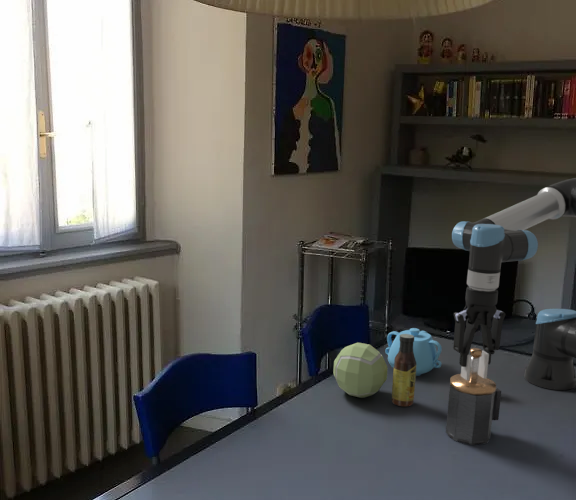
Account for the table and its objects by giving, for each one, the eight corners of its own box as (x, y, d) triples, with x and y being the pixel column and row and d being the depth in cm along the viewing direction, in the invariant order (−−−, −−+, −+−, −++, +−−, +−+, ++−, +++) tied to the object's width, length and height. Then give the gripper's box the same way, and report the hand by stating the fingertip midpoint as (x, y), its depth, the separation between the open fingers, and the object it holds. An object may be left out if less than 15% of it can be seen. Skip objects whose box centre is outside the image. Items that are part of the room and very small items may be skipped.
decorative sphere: (343, 380, 195) (346, 333, 192) (390, 390, 188) (394, 342, 186) (325, 398, 181) (327, 348, 178) (375, 409, 175) (379, 358, 172)
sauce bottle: (413, 409, 176) (418, 341, 173) (390, 406, 178) (395, 338, 174) (413, 399, 183) (418, 333, 179) (391, 397, 184) (396, 331, 180)
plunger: (475, 416, 169) (482, 341, 165) (500, 436, 159) (509, 356, 155) (437, 420, 166) (444, 343, 162) (461, 441, 156) (469, 359, 152)
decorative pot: (382, 359, 214) (384, 320, 211) (429, 360, 215) (432, 321, 212) (391, 378, 198) (394, 336, 195) (442, 379, 199) (446, 337, 196)
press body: (483, 421, 170) (487, 376, 168) (507, 440, 160) (513, 392, 158) (438, 426, 166) (442, 380, 164) (460, 446, 156) (465, 397, 154)
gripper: (459, 292, 149) (451, 386, 154) (522, 289, 154) (512, 380, 159) (443, 285, 156) (435, 374, 161) (503, 282, 161) (494, 369, 166)
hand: (473, 377), depth 160 cm, fingers open, 4 cm apart
